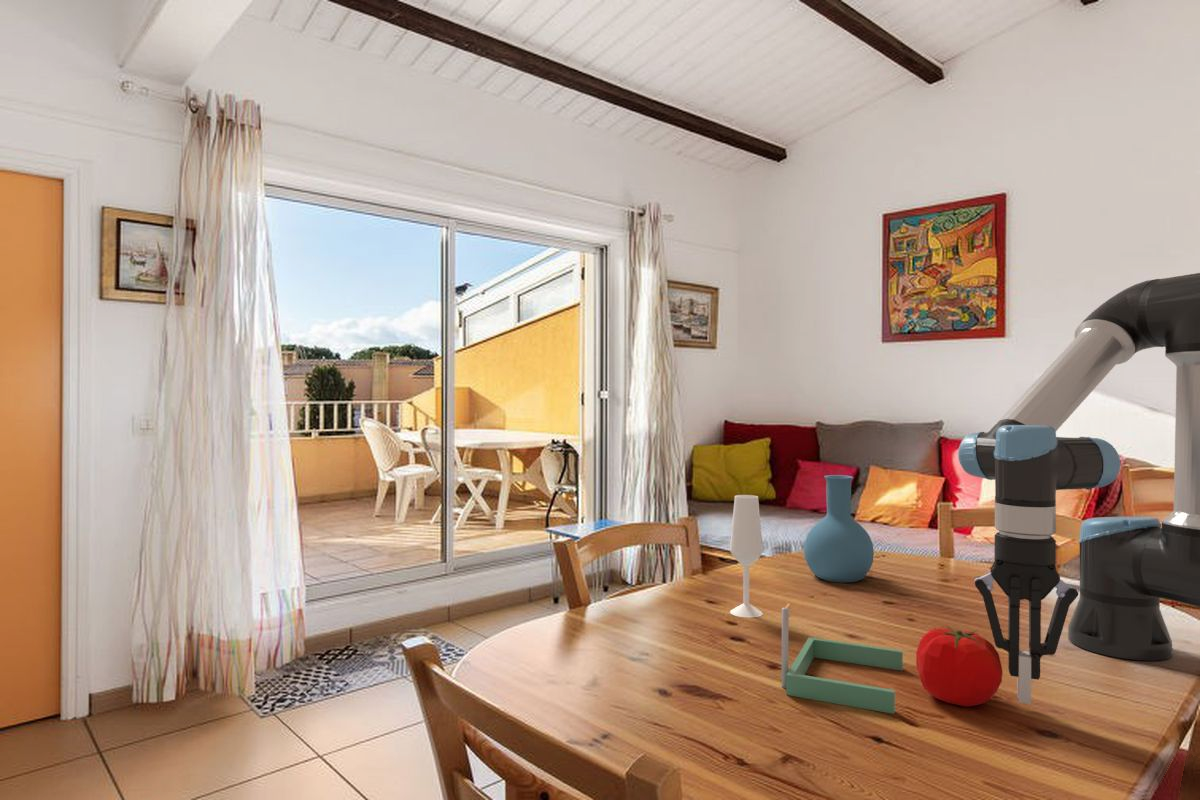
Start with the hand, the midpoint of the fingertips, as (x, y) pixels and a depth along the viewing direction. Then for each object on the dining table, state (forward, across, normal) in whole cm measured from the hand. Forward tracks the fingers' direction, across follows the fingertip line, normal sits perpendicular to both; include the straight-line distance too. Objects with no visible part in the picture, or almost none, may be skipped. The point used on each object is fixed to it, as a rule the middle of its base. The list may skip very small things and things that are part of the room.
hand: (1023, 699), depth 103 cm
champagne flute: (+2, +47, -29) cm, 56 cm away
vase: (+2, +34, -68) cm, 76 cm away
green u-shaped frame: (+2, +25, 0) cm, 25 cm away
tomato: (+2, +8, 0) cm, 9 cm away
